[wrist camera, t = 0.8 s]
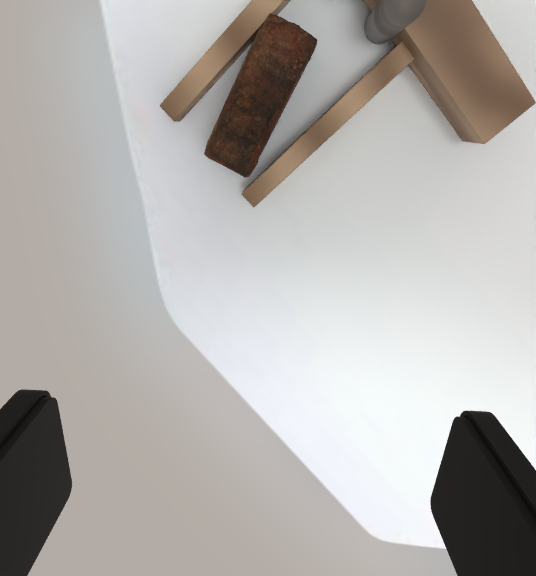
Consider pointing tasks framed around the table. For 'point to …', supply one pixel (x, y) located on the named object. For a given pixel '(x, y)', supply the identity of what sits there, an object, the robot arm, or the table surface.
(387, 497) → the table surface
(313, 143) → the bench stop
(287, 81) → the brick
